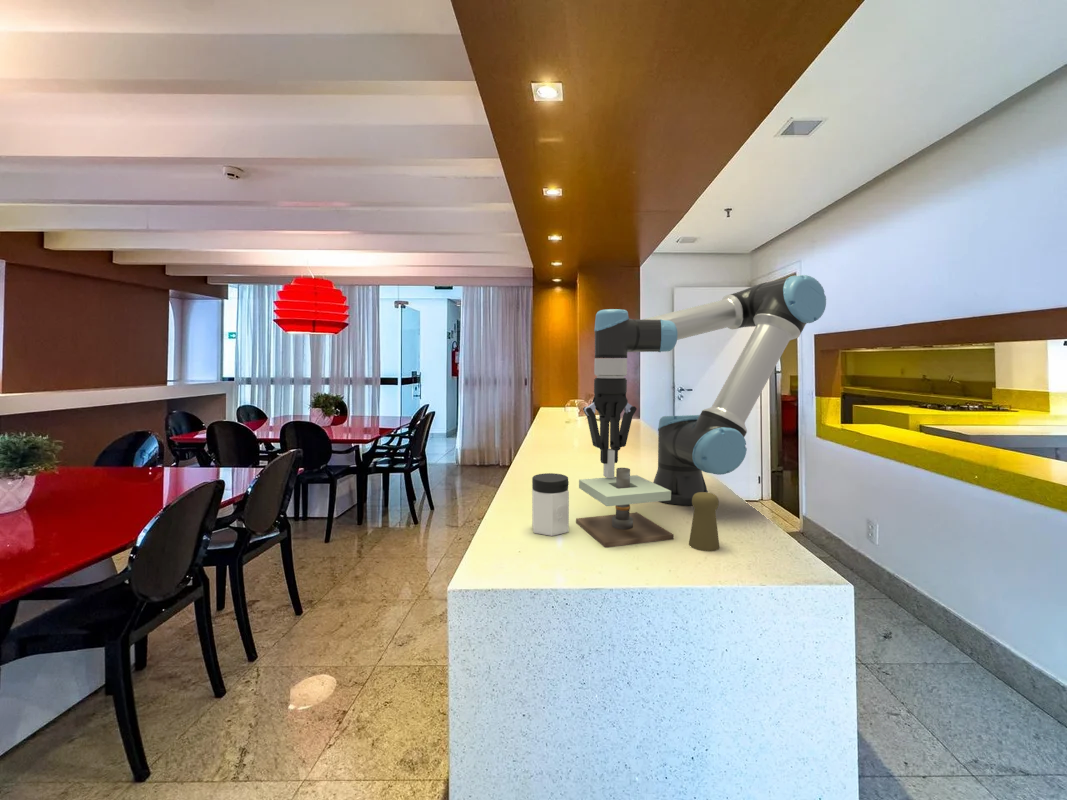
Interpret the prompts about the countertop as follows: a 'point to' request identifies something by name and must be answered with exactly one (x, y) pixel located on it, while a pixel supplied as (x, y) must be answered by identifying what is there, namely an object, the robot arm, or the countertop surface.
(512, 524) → the countertop surface
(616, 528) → the post
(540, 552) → the countertop surface
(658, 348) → the robot arm
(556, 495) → the jar
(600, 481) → the square plate with hole
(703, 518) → the cork
